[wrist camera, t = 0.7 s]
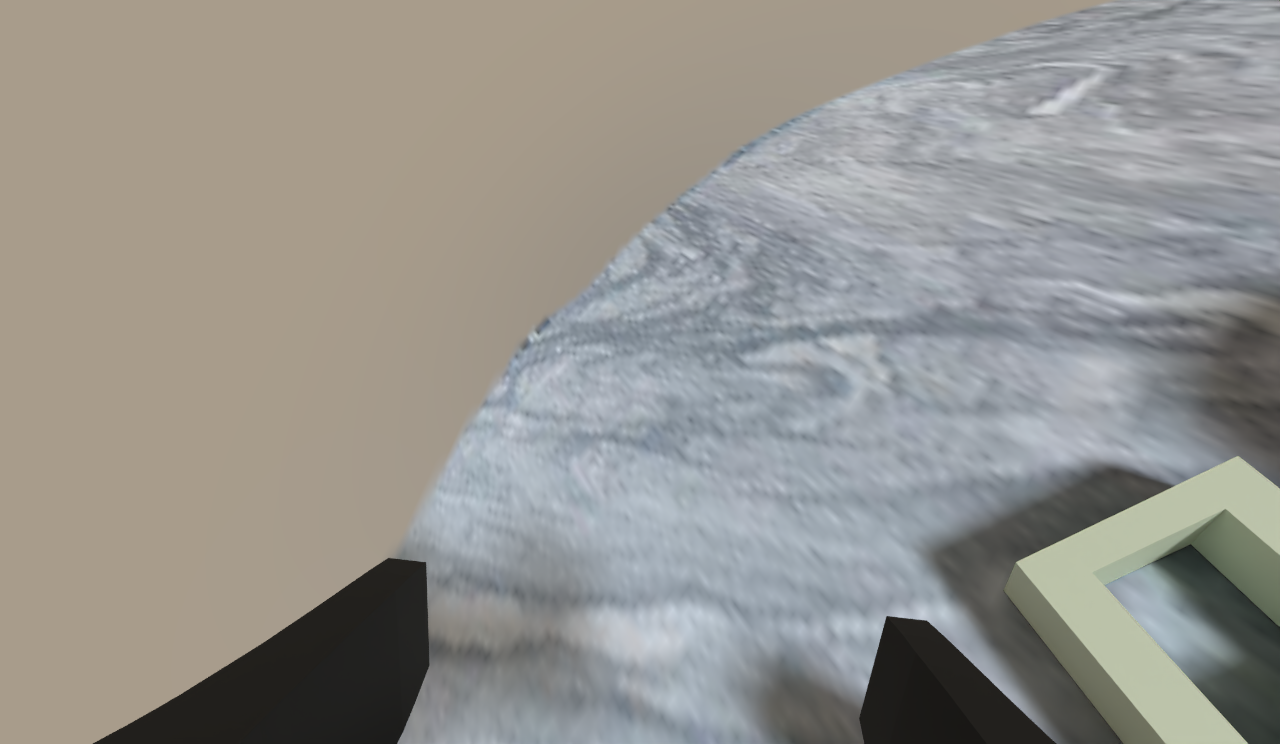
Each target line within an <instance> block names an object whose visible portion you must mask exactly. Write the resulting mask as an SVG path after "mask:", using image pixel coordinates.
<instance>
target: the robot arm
mask: <svg viewBox="0 0 1280 744" xmlns="http://www.w3.org/2000/svg"><path fill="white" fill-rule="evenodd" d="M428 667H429V641H428V609H427V577H426V562H418V561H409V560H400V559H392V558H388V559H386V560H385V561H383V562H382V563H380V564H379V565H377V566H375V567H374V568H373V569H371V570H369V571H368V572H367V573H365V574H364V575H362V576H361V577H359V578H358V579H356V580H355V581H353V582H352V583H351V584H349V585H348V586H346V587H345V588H343V589H342V590H340V591H339V592H338V593H336V594H335V595H333V596H332V597H330V598H329V599H327V600H326V601H325V602H323V603H322V604H320V605H319V606H317V607H316V608H314V609H313V610H312V611H310V612H309V613H307V614H306V615H304V616H303V617H301V618H300V619H298V620H297V621H295V622H294V623H292V624H291V625H289V626H288V627H286V628H285V629H283V630H282V631H280V632H279V633H277V634H276V635H274V636H273V637H272V638H270V639H268V640H267V641H266V642H264V643H263V644H261V645H259V646H258V647H256V648H255V649H253V650H251V651H250V652H248V653H247V654H245V655H243V656H242V657H240V658H238V659H237V660H235V661H234V662H232V663H231V664H229V665H228V666H226V667H224V668H222V669H221V670H219V671H218V672H216V673H214V674H213V675H211V676H210V677H208V678H206V679H205V680H203V681H202V682H200V683H198V684H197V685H195V686H194V687H192V688H190V689H189V690H187V691H186V692H184V693H183V694H181V695H179V696H177V697H176V698H174V699H172V700H170V701H169V702H167V703H165V704H164V705H162V706H160V707H159V708H157V709H155V710H153V711H151V712H150V713H148V714H146V715H144V716H143V717H141V718H139V719H137V720H136V721H134V722H132V723H130V724H128V725H127V726H125V727H123V728H121V729H119V730H117V731H116V732H114V733H112V734H110V735H108V736H106V737H104V738H103V739H101V740H99V741H97V742H95V743H93V744H397V742H398V740H399V739H400V737H401V735H402V733H403V730H404V728H405V726H406V723H407V721H408V718H409V716H410V713H411V711H412V709H413V706H414V704H415V701H416V699H417V696H418V693H419V691H420V688H421V686H422V683H423V680H424V678H425V675H426V673H427V670H428ZM859 719H860V724H861V729H862V734H863V739H864V744H1056V743H1055V742H1054V741H1053V740H1052V739H1051V738H1050V737H1048V736H1047V735H1046V734H1045V733H1044V732H1043V731H1042V730H1041V729H1040V728H1039V727H1038V726H1037V725H1036V724H1035V723H1034V722H1033V721H1032V720H1030V719H1029V718H1028V717H1027V716H1026V715H1025V714H1024V713H1023V712H1022V711H1021V710H1020V709H1019V708H1018V707H1017V706H1016V705H1015V704H1014V703H1013V702H1012V701H1011V700H1010V699H1008V698H1007V697H1006V696H1005V695H1004V694H1003V693H1002V692H1001V691H1000V690H999V689H998V688H997V687H996V686H995V685H994V684H993V683H992V682H991V681H990V680H989V679H988V678H987V677H986V676H985V675H984V674H983V673H982V672H981V671H980V670H979V669H978V668H976V667H975V666H974V665H973V664H972V663H971V662H970V661H969V660H968V659H967V658H966V657H965V656H964V655H963V654H962V653H961V652H960V651H959V650H958V649H957V648H956V647H955V646H954V645H953V644H952V643H951V642H950V641H948V640H947V639H946V638H945V637H944V636H943V635H942V634H941V633H940V632H939V631H938V630H937V629H936V628H934V627H933V626H932V625H931V624H930V623H929V622H928V621H924V620H915V619H907V618H898V617H889V616H887V617H886V621H885V624H884V628H883V632H882V636H881V639H880V643H879V647H878V650H877V654H876V658H875V662H874V665H873V669H872V673H871V677H870V680H869V684H868V688H867V692H866V695H865V699H864V703H863V706H862V710H861V714H860V718H859Z"/></svg>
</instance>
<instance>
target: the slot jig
mask: <svg viewBox="0 0 1280 744" xmlns="http://www.w3.org/2000/svg"><path fill="white" fill-rule="evenodd" d="M1190 544H1191V545H1192V546H1193V547H1194V548H1195V549H1196V550H1198V551H1199V552H1200V553H1201V554H1202V555H1203V556H1204V557H1205V558H1206V559H1207V560H1208V561H1209V562H1210V563H1211V564H1213V565H1214V566H1215V567H1216V568H1217V569H1218V570H1219V571H1220V572H1221V573H1222V574H1223V575H1224V576H1225V577H1226V578H1227V579H1229V580H1230V581H1231V582H1232V583H1233V584H1234V585H1235V586H1236V587H1237V588H1238V589H1239V590H1240V591H1241V592H1242V593H1244V594H1245V595H1246V596H1247V597H1248V598H1249V599H1250V600H1251V601H1252V602H1253V603H1254V604H1255V605H1256V606H1257V607H1258V608H1260V609H1261V610H1262V611H1263V612H1264V613H1265V614H1266V615H1267V616H1268V617H1269V618H1270V619H1271V620H1272V621H1273V622H1275V623H1276V624H1277V625H1278V626H1279V627H1280V488H1278V487H1277V486H1276V485H1275V484H1273V483H1272V482H1271V481H1270V480H1268V479H1267V478H1266V477H1264V476H1263V475H1262V474H1261V473H1259V472H1258V471H1257V470H1256V469H1254V468H1253V467H1252V466H1250V465H1249V464H1248V463H1247V462H1245V461H1244V460H1243V459H1241V458H1240V457H1239V456H1237V457H1235V458H1233V459H1230V460H1228V461H1226V462H1224V463H1222V464H1220V465H1218V466H1216V467H1214V468H1212V469H1210V470H1208V471H1205V472H1203V473H1201V474H1199V475H1197V476H1195V477H1193V478H1191V479H1189V480H1187V481H1185V482H1182V483H1180V484H1178V485H1176V486H1174V487H1172V488H1170V489H1168V490H1166V491H1164V492H1162V493H1159V494H1157V495H1155V496H1153V497H1151V498H1149V499H1147V500H1145V501H1143V502H1141V503H1139V504H1136V505H1134V506H1132V507H1130V508H1128V509H1126V510H1124V511H1122V512H1120V513H1118V514H1116V515H1113V516H1111V517H1109V518H1107V519H1105V520H1103V521H1101V522H1099V523H1097V524H1095V525H1093V526H1090V527H1088V528H1086V529H1084V530H1082V531H1080V532H1078V533H1076V534H1074V535H1072V536H1070V537H1068V538H1065V539H1063V540H1061V541H1059V542H1057V543H1055V544H1053V545H1051V546H1049V547H1047V548H1045V549H1042V550H1040V551H1038V552H1036V553H1034V554H1032V555H1030V556H1028V557H1026V558H1024V559H1022V560H1019V561H1017V562H1016V563H1015V565H1014V568H1013V570H1012V572H1011V575H1010V577H1009V579H1008V582H1007V584H1006V586H1005V588H1004V592H1005V593H1006V594H1007V595H1008V597H1009V598H1010V599H1011V601H1012V602H1013V603H1014V604H1015V606H1016V607H1017V608H1018V610H1019V611H1020V612H1021V613H1022V615H1023V616H1024V617H1025V618H1026V620H1027V621H1028V622H1029V624H1030V625H1031V626H1032V627H1033V629H1034V630H1035V631H1036V633H1037V634H1038V635H1039V636H1040V638H1041V639H1042V640H1043V641H1044V643H1045V644H1046V645H1047V647H1048V648H1049V649H1050V650H1051V652H1052V653H1053V654H1054V656H1055V657H1056V658H1057V659H1058V661H1059V662H1060V663H1061V664H1062V666H1063V667H1064V668H1065V670H1066V671H1067V672H1068V673H1069V675H1070V676H1071V677H1072V678H1073V680H1074V681H1075V682H1076V684H1077V685H1078V686H1079V687H1080V689H1081V690H1082V691H1083V693H1084V694H1085V695H1086V696H1087V698H1088V699H1089V700H1090V701H1091V703H1092V704H1093V705H1094V707H1095V708H1096V709H1097V710H1098V712H1099V713H1100V714H1101V716H1102V717H1103V718H1104V719H1105V721H1106V722H1107V723H1108V724H1109V726H1110V727H1111V728H1112V730H1113V731H1114V732H1115V733H1116V735H1117V736H1118V737H1119V739H1120V740H1121V741H1122V742H1123V744H1248V743H1247V742H1246V741H1245V740H1244V739H1243V737H1242V736H1241V735H1240V734H1239V733H1238V732H1237V731H1236V730H1235V729H1234V728H1233V726H1232V725H1231V724H1230V723H1229V722H1228V721H1227V720H1226V719H1225V718H1224V717H1223V716H1222V714H1221V713H1220V712H1219V711H1218V710H1217V709H1216V708H1215V707H1214V706H1213V705H1212V703H1211V702H1210V701H1209V700H1208V699H1207V698H1206V697H1205V696H1204V695H1203V694H1202V692H1201V691H1200V690H1199V689H1198V688H1197V687H1196V686H1195V685H1194V684H1193V683H1192V681H1191V680H1190V679H1189V678H1188V677H1187V676H1186V675H1185V674H1184V673H1183V672H1182V670H1181V669H1180V668H1179V667H1178V666H1177V665H1176V664H1175V663H1174V662H1173V661H1172V659H1171V658H1170V657H1169V656H1168V655H1167V654H1166V653H1165V652H1164V651H1163V650H1162V649H1161V647H1160V646H1159V645H1158V644H1157V643H1156V642H1155V641H1154V640H1153V639H1152V638H1151V636H1150V635H1149V634H1148V633H1147V632H1146V631H1145V630H1144V629H1143V628H1142V627H1141V625H1140V624H1139V623H1138V622H1137V621H1136V620H1135V619H1134V618H1133V617H1132V616H1131V614H1130V613H1129V612H1128V611H1127V610H1126V609H1125V608H1124V607H1123V606H1122V605H1121V603H1120V602H1119V601H1118V600H1117V599H1116V598H1115V597H1114V596H1113V595H1112V594H1111V592H1110V591H1109V590H1108V589H1107V588H1106V587H1105V586H1104V585H1106V584H1108V583H1110V582H1112V581H1114V580H1116V579H1118V578H1120V577H1122V576H1125V575H1127V574H1129V573H1131V572H1133V571H1135V570H1137V569H1139V568H1141V567H1144V566H1146V565H1148V564H1150V563H1152V562H1154V561H1156V560H1158V559H1160V558H1162V557H1165V556H1167V555H1169V554H1171V553H1173V552H1175V551H1177V550H1179V549H1181V548H1184V547H1186V546H1188V545H1190Z"/></svg>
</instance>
